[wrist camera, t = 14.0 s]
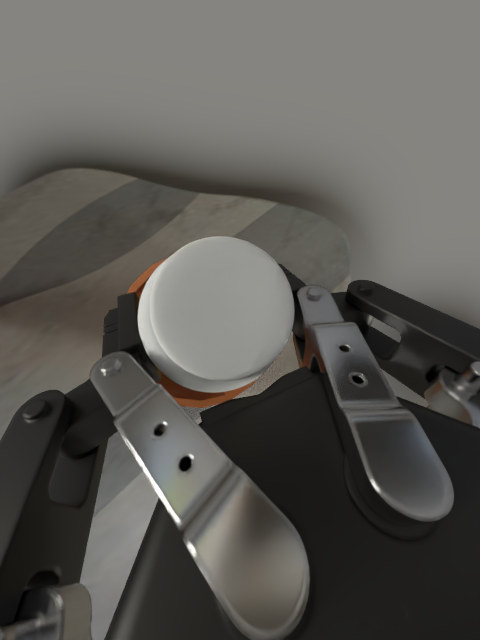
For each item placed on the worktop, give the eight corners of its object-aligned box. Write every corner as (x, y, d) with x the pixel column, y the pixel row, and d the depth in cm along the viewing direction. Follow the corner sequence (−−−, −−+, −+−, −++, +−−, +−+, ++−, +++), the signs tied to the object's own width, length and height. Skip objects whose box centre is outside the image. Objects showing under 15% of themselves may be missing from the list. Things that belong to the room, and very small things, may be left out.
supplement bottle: (158, 295, 15) (98, 207, 5) (236, 286, 17) (303, 201, 7) (169, 376, 15) (128, 440, 5) (248, 360, 16) (339, 388, 6)
